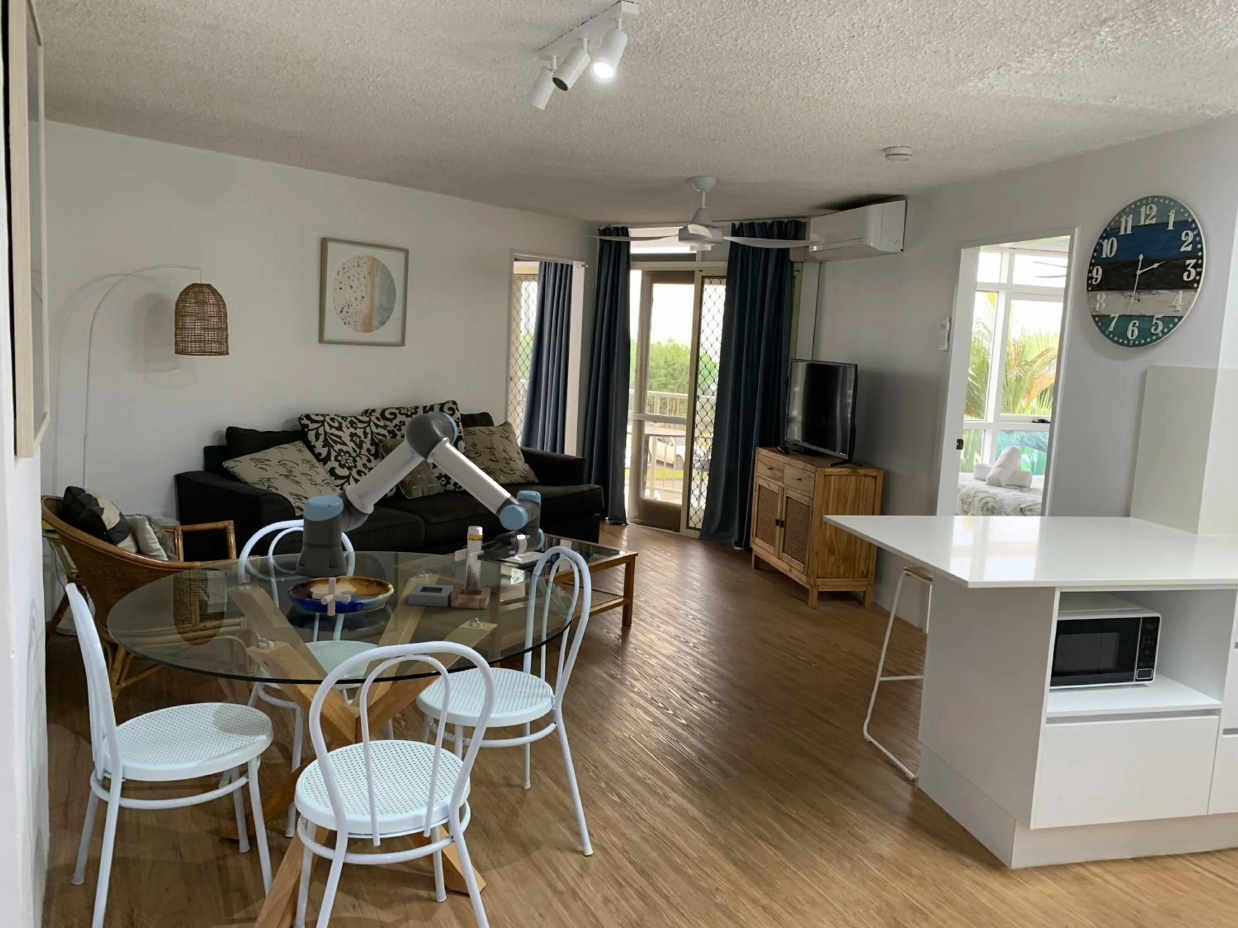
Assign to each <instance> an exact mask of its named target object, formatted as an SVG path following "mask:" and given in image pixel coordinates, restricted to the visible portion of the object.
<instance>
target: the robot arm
mask: <svg viewBox="0 0 1238 928" xmlns="http://www.w3.org/2000/svg"><path fill="white" fill-rule="evenodd" d="M405 427H406V428H405V432H404V440H403V441H402V442H401V443H400V444H399V445H398V446H397V447H395V449H393V450H392V451H391V452H390V453H389V454H388V455H387V456H386V457H385V458H384V459H383V460H382V461H380V462H379V463H378V464H377V465H376V466H375V467H374V468H372V469H371V470H370V471H369V472H368V473H367V474H365V476H364V477H363V478H361V479H360V481H358V482H357V483H356V484H355V485H353V484H351V485H350V484H349V485H347V486H346V487H345V488H343V489H342V491H340V492H339V493H337V495H331V494H330V495H327V494H326V495H323V494H322V495H320V496H318V495H316V496H312V497H310V498H308V499H307V500H306V501H305V502H304V508H303V511H302V512H303V513H302V515H303V520H302V521H303V522H302V523H303V527H302V548H301V550H300V551H301V552H300V554H299V556H298V559H297V562H296V565H295V572H296V573H297V574H299V575H302V576H305V577H306V576H307V577H315V578H316V577H317V578H322V577H323V578H324V577H325V578H326V577H336V576H339V575H343V574H345V573H347V562H346V558H345V555H344V552H343V548H342V544H343V543H342V541H343V537H342V536H343V533H345V532H349V531H352V530H355V529H358V528H360V527H361V526H362V525H363V524H364V523H365V522H366V520H367V519H368V517H369V515H371V514H372V513H373V512H374V504H376V503H377V502H378V501H379V500H380V499H382V497H384V496H385V495H386V494H387V493H388V492H389V491H390V490H392V488H394V487H395V486H396V485H398V483H399V482H400V481H402V479H404V478H405V477H406V476H408V474H409V473H410V472H411V471H412V470H413V469H415V468H416V467H417V466H418V465H420V463H422V461H426V462H427V463H434V464H435V465H436V466H437V467H438V468H439V469H441V470H442V471H443V472H444V473H446V475H448V476H449V477H450V478H452V479H453V480H454V481H455V482H456V483H458V484H459V485H460V487H462V488H463V489H464V490H466V491H467V492H468V493H469V494H470V495H472V496H473V497H474V498H475V499H476V500H478V502H480V503H481V504H482V505H484V506H485V507H486V508H488V509H489V510H490V512H492V513H493V514H494V515H496V516H497V517H498V518H499V521H500V523H501V526H502V527H503V528H505V529H506V530H508V531H509V532H506V533H502V534H498V535H497V536H495V538H494V539H493V540H490V541H489V542H484V543H483V541H482V546H481V551H478V552H474V553H471V554H468V563H469V564H471V563H475V562H478V561H484V560H485V561H488V560H490V561H492V562H494V561H497V560H506V559H509V558H516V556H519V555H522V554H527V553H532V552H535V551H536V550H538V549H541V548H542V547H543V545H544V543H545V534H544V532H543V530H542V529H541V528H540V519H541V505H542V502H541V501H542V498H541V493H540V492H538V491H535V490H519V491H518V492H517V494H516V498H515V497H514V496H513V495H512V493H509V492H508V491H507V490H506V489H504V488H503V487H502V486H501V485H500V484H499V483H498V482H497V481H495V480H494V479H493V478H491V477H490V476H489V475H488V474H487V473H486V472H484V470H482V469H481V468H480V467H478V466H477V465H476V464H475V463H474V462H473V461H471V460H470V459H469V458H468V457H466V456H465V455H464V454H463V453H462V452H461V451H459V450H458V449H457V448H456V447H455V446H453V443H454V442H455V441H456V439H457V436H458V427H457V424H456V422H455V420H454V419H453V418H452V417H451V415H449V414H447V413H445V412H440V411H433V412H431V413H430V412H429V413H420V414H417V415H415V416H413V417H412V418H411V419H409V421H408V423H407V424H406V426H405ZM467 546H468V544H467V545H463V546H462V549H460V550H459V549H458V550H456V551H455V552H454V561H455V562H458V561H462V560H467Z"/></svg>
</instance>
